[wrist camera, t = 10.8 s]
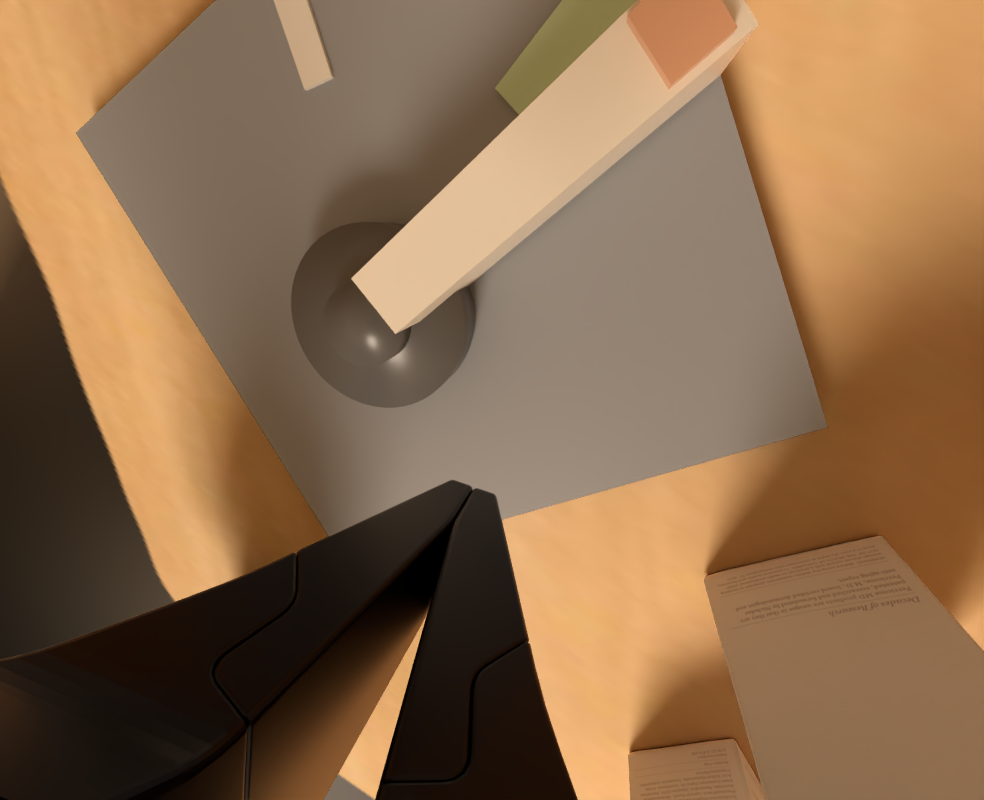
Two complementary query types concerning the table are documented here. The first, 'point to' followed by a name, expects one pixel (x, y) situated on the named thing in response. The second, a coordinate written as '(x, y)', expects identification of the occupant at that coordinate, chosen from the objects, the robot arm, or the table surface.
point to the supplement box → (851, 677)
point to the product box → (693, 773)
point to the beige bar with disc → (498, 204)
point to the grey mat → (496, 293)
